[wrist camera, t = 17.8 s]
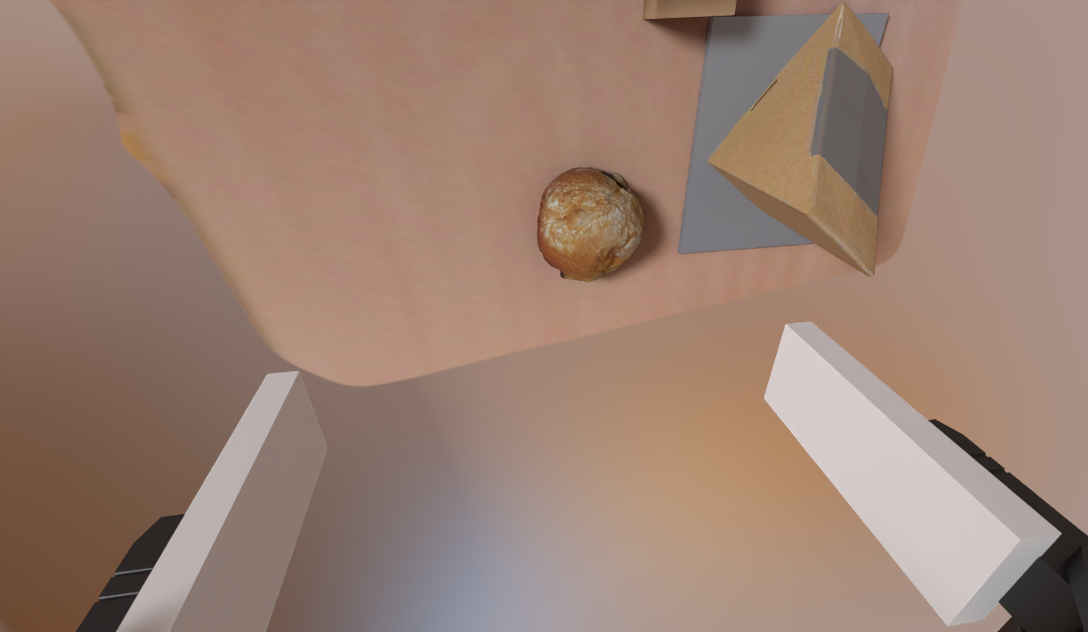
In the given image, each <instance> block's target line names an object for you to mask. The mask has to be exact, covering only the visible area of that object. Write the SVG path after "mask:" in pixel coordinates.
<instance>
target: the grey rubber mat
mask: <svg viewBox="0 0 1088 632" xmlns="http://www.w3.org/2000/svg"><path fill="white" fill-rule="evenodd" d="M830 15H831V14H828V15H782V16H736V17H710V23H709V30H708V37H707V45H706V52H705V59H704V66H703V73H702V81H701V88H700V95H699V102H698V109H697V117H696V124H695V131H694V138H693V145H692V153H691V160H690V167H689V174H688V181H687V189H686V196H685V203H684V210H683V218H682V225H681V232H680V239H679V246H678V252H679V253H680V254H683V253H696V252H709V251H722V250H735V249H747V248H760V247H773V246H786V245H799V244H812V243H813V242H812V241H810V240H809V239H807V238H805V237H804V236H802V235H800V234H799V233H797V232H796V231H794V230H792V229H791V228H789V227H787V226H786V225H784V224H783V223H781V222H779V221H778V220H776V219H775V218H773V217H771V216H770V215H768V214H766V213H765V212H763V211H762V210H760V209H759V208H758V207H757V206H756V205H754V204H753V203H752V202H751V201H750V200H749V199H748V198H747V197H746V196H744V195H743V194H742V193H741V192H740V191H739V190H738V189H736V188H735V187H734V186H733V185H732V184H731V183H730V182H729V181H728V180H727V179H726V178H725V177H723V176H722V175H721V174H720V173H719V172H718V171H717V170H716V169H715V168H714V167H713V166H711V165H710V164H709V163H708V162H707V160H708V159H709V158H710V156H711V155H712V154H713V153H714V151H715V150H716V149H717V148H718V146H719V145H720V144H721V143H722V141H723V140H724V139H725V137H726V136H727V135H728V134H729V132H730V131H731V130H732V129H733V127H734V126H735V125H736V124H737V122H738V121H739V120H740V119H741V117H742V116H743V115H744V114H745V113H746V112H747V111H748V110H749V109H750V107H751V106H752V105H753V104H754V103H755V102H756V100H757V99H758V98H759V97H760V96H761V95H762V93H763V92H764V91H765V90H766V89H767V87H768V86H769V85H770V84H771V83H772V81H773V80H774V79H775V78H776V76H777V75H778V74H779V73H780V72H781V70H782V69H783V68H784V67H785V66H786V65H787V64H788V62H789V61H790V60H791V59H792V58H793V57H794V56H795V55H796V53H797V52H798V51H799V50H800V49H801V48H802V47H803V46H804V44H805V43H806V42H807V41H808V40H809V39H810V38H811V37H812V35H813V34H814V33H815V32H816V31H817V30H818V29H819V28H820V26H821V25H822V24H823V23H824V22H825V21H826V20H827V19H828V17H829V16H830ZM855 15H856V17H857V18H858V19H859V20H860V22H861V23H862V24H863V25H864V26H865V28H866V29H867V30H868V31H869V33H870V34H871V35H872V37H873V38H874V40H875V41H876V43H877V44H878V46H879V45H880V42H881V38H882V35H883V32H884V29H885V25H886V22H887V19H888V15H889V13H873V14H855Z"/></svg>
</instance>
